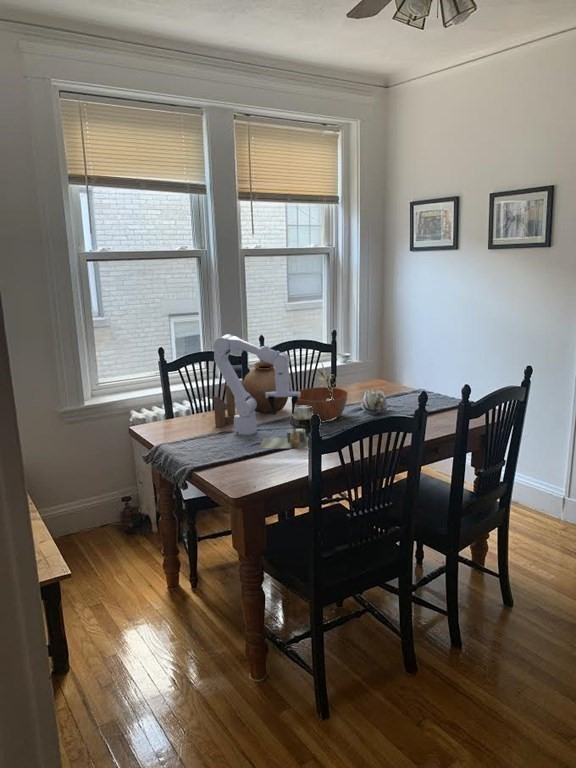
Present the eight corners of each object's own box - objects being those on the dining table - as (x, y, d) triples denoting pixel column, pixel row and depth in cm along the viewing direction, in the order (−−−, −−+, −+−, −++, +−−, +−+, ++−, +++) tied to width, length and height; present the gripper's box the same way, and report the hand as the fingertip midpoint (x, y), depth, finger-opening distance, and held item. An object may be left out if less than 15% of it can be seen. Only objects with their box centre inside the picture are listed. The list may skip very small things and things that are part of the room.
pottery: (267, 403, 292) (264, 355, 286) (300, 411, 276) (298, 360, 270) (233, 413, 276) (230, 363, 270) (266, 422, 260) (263, 369, 254)
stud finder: (287, 442, 230) (287, 431, 229) (288, 438, 234) (288, 428, 233) (304, 442, 229) (304, 431, 228) (305, 438, 234) (305, 428, 233)
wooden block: (215, 426, 258) (212, 387, 254) (232, 420, 266) (229, 382, 262) (220, 427, 256) (218, 389, 252) (237, 421, 264) (235, 383, 260)
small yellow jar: (290, 447, 224) (289, 430, 223) (291, 444, 228) (290, 427, 226) (299, 447, 224) (298, 430, 222) (300, 444, 227) (299, 427, 226)
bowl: (351, 410, 274) (350, 387, 271) (344, 427, 250) (344, 401, 247) (300, 409, 279) (299, 386, 277) (289, 425, 256) (288, 400, 253)
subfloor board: (259, 451, 225) (259, 448, 225) (264, 440, 237) (263, 438, 236) (309, 451, 223) (309, 448, 222) (312, 440, 234) (311, 438, 234)
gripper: (263, 384, 233) (265, 416, 236) (299, 384, 231) (300, 416, 234) (266, 380, 239) (267, 411, 243) (300, 380, 238) (301, 411, 241)
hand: (283, 413), depth 239 cm, fingers open, 7 cm apart
